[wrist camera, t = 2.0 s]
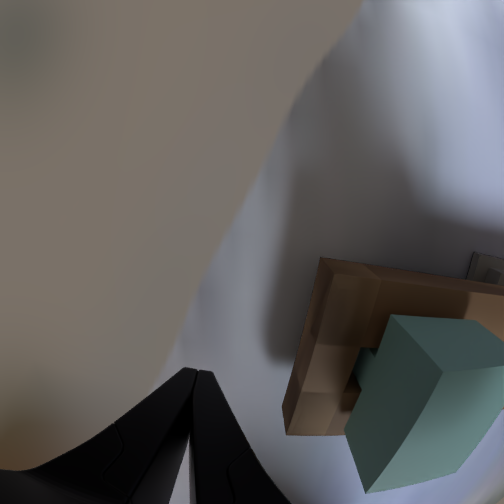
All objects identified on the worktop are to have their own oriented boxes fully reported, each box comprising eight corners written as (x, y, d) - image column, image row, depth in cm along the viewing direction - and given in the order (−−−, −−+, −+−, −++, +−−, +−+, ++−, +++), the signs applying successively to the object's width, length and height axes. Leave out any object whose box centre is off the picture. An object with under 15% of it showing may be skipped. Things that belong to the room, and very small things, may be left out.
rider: (407, 395, 12) (455, 472, 7) (332, 397, 12) (365, 493, 7) (447, 300, 11) (528, 361, 6) (368, 290, 11) (443, 371, 6)
